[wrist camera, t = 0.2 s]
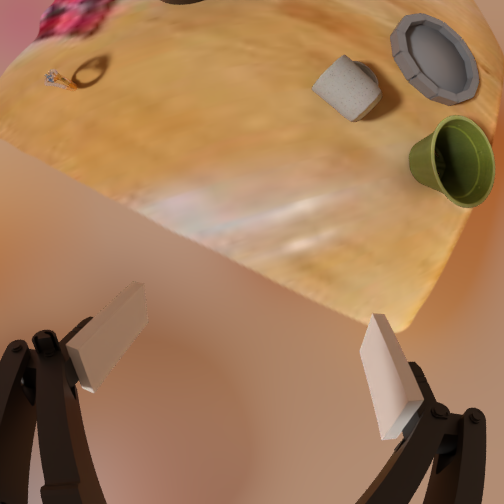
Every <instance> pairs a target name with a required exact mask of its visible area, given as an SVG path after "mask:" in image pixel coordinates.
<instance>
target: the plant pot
mask: <svg viewBox="0 0 504 504" xmlns="http://www.w3.org/2000/svg"><path fill="white" fill-rule="evenodd" d="M434 150H435V151H436V152H437V153H438V155H439V157H437V155H436V154H435V153H434ZM409 163H410V170H411V172H412V174H413V176H414V177H415V179H416V180H417V181H418V182H420V183H421V184H423V185H425V186H428V187H430V188H432V189H435V190H437V191H439V192H442V193H443V194H445V196H446V197H447V198H448V199H449V200H450V201H451V202H453V203H454V204H456V205H458V206H460V207H464V208H473V207H476V206H478V205H480V204H481V203H482V202H484V200H485V199H486V198H487V197H488V195H489V194H490V192H491V190H492V187H493V183H494V178H495V161H494V154H493V151H492V148H491V145H490V143H489V140H488V138H487V137H486V135H485V133H484V132H483V131H482V129H481V128H480V127H479V126H478V125H477V124H476V123H475V122H473V121H472V120H470V119H469V118H467V117H464V116H460V115H453V116H449V117H447V118H445V119H444V120H442V121H441V122H440V123H439V125H438V126H437V128H436V129H435V131H434V132H433V133H432V134H430V135H429V136H427V137H426V138H424V139H422V140H421V141H419V142H418V143H416V144H415V145H414V146H413V147H412V149H411V151H410V154H409ZM438 172H439V173H440V174H439V176H438Z"/></svg>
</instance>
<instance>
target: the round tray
mask: <svg viewBox="0 0 504 504" xmlns="http://www.w3.org/2000/svg"><path fill="white" fill-rule="evenodd" d="M461 38H462V37H460V36H459V35H458V34H457V33H456V32H455V31H454V30H453V29H452V28H450V27H449V26H448V25H447V24H446V23H445V22H444V23H443V21H441V20H439V19H436V18H434V17H431V16H429V15H426V14H422V13H419V14H412V15H406V16H404V17H403V18H402V20H401V21H400V22H399V23H398V25H397V26H396V28H395V29H394V31H393V32H392V34H391V37H390V40H391V46H392V53H393V57H394V60H395V62H396V63H397V65H398V66H399V68H400V70H401V71H402V73H403V75H404V76H405V78H406V80H409V83H410V84H411V85H413V86H414V87H415V88H416V89H417V90H419V91H420V92H421V93H422V94H423V95H424V96H425V97H427V98H429V100H433V101H436V102H439V103H442V104H445V105H448V106H449V105H450V106H451V105H454V104H457V103H460V102H462V101H465V100H468V99H470V98H473V97H474V95H475V93H476V90H477V87H478V84H479V75H478V70H477V65H476V61H475V60H474V59H475V58H474V57H473V55H472V53H471V51H470V50H469V48H468V46H467V45H466V43H465V42H464V40H463V39H461Z"/></svg>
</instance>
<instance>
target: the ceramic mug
mask: <svg viewBox="0 0 504 504" xmlns="http://www.w3.org/2000/svg"><path fill="white" fill-rule="evenodd" d="M312 90H313V91H314V92H315V93H316V94H318V95H319V96H320V97H321V98H323V99H324V100H325V101H326V102H327V103H329V104H330V105H331V106H332V107H333V108H335V109H336V110H337V111H338V112H339V113H340V114H341V115H342V116H344V117H345V118H346V119H348V120H349V121H351V122H357V121H359V120H360V119H362V118H363V117H364V116H365V115H366V114H368V113H369V112H370V111H371V110H372V109H373V108H374V107H375V106H376V105H377V104H378V102H379V101H380V100H381V98H382V91H381V90H380V88H379V87H378V79H377V77H376V75H375V74H374V73H373V71H372V70H371V69H370V68H369V67H368V66H366V65H365V64H363V63H361V62H358V61H352V60H351V59H350V58H348V57H347V56H346V55H343V56H341V57H340V58H339V59H337V60H336V61H335V62H334V63H333V64H332V65H331V66H330V67H329V68H328V69H327V70H326V71H325V72H324V73H323V74H322V75H321V76H320V78H319V79H318V80H317V81H316V82H315V84H314V85H313V87H312Z"/></svg>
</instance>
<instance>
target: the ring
mask: <svg viewBox="0 0 504 504" xmlns="http://www.w3.org/2000/svg"><path fill="white" fill-rule="evenodd" d="M48 74H50V75H47V74H45V76H47V77H46V79H45V83H44V85H46V86H56V87H60V88H63V89H67V90H70V91H76V89H77V88H78V86H77V85H76V83H74V82H72V81H71V80H69V79H68V78H66V77H64V76H62V75H60V74H59V73H58V72H57V70H55V69H51V70H50V71H49V72H48ZM56 79H57V80H60V81H63V82H65V83H66V84H67V85H69V86H67V85H64V84H61V83H55V82H56V81H57V80H56Z"/></svg>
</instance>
